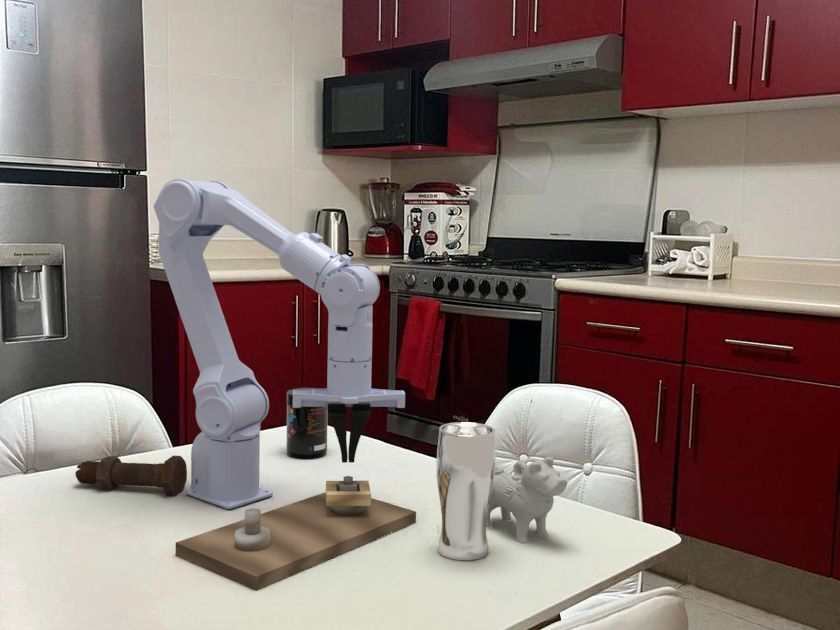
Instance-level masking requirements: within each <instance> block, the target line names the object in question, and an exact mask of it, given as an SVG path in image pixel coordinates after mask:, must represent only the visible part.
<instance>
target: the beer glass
mask: <svg viewBox="0 0 840 630" xmlns="http://www.w3.org/2000/svg"><path fill="white" fill-rule="evenodd" d="M495 433H496V429H495V428H494V427H493V426H490V425H488V424H484V423H479V422H471V421H455V422H449V423H445V424H442V425H440V426H439V432H438V440H437V441H438V442H437V449H436V480H437V481H436V483H437V489H438V497H439V502H440V503H439V504H440V511H441V512H440V513H441V530H440V534H439V540H438V544H437V552H438V554H440V555H441V556H443V557H445V558H447V559H450V560H454V561H464V562H465V561H466V562H468V561H476V560H477V561H478V560H480V559H482V558H485V557H486V556H487V555H488V553H489V544H488V538H487V537H488V536H487V528H486V517H487V511H488V506H489V502H490V498H491V493H492V488H493V482H494V476H495V466H496V456H497V455H496V453H497V452H496V438H495V437H496V435H495Z"/></svg>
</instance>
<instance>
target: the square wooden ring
mask: <svg viewBox="0 0 840 630" xmlns="http://www.w3.org/2000/svg"><path fill="white" fill-rule="evenodd" d="M339 481H340V480H326V481H325V492H326V506H371V498H372V492H371V486H370V483H369V480H355V481H356V482H357V491H339Z"/></svg>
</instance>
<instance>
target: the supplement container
mask: <svg viewBox="0 0 840 630" xmlns="http://www.w3.org/2000/svg"><path fill="white" fill-rule="evenodd" d="M311 389H319V388H317V387H299V388H292V389H289V390H287V392H286V453H287V455H289V456H290V457H291V458H293V459H300V460H309V459H310V460H311V459H318V458H321V457H324V456H325V455H326V453H327V452H328V420H329V419H328V418H329V416H328V407H301V408H293V390H311Z"/></svg>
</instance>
